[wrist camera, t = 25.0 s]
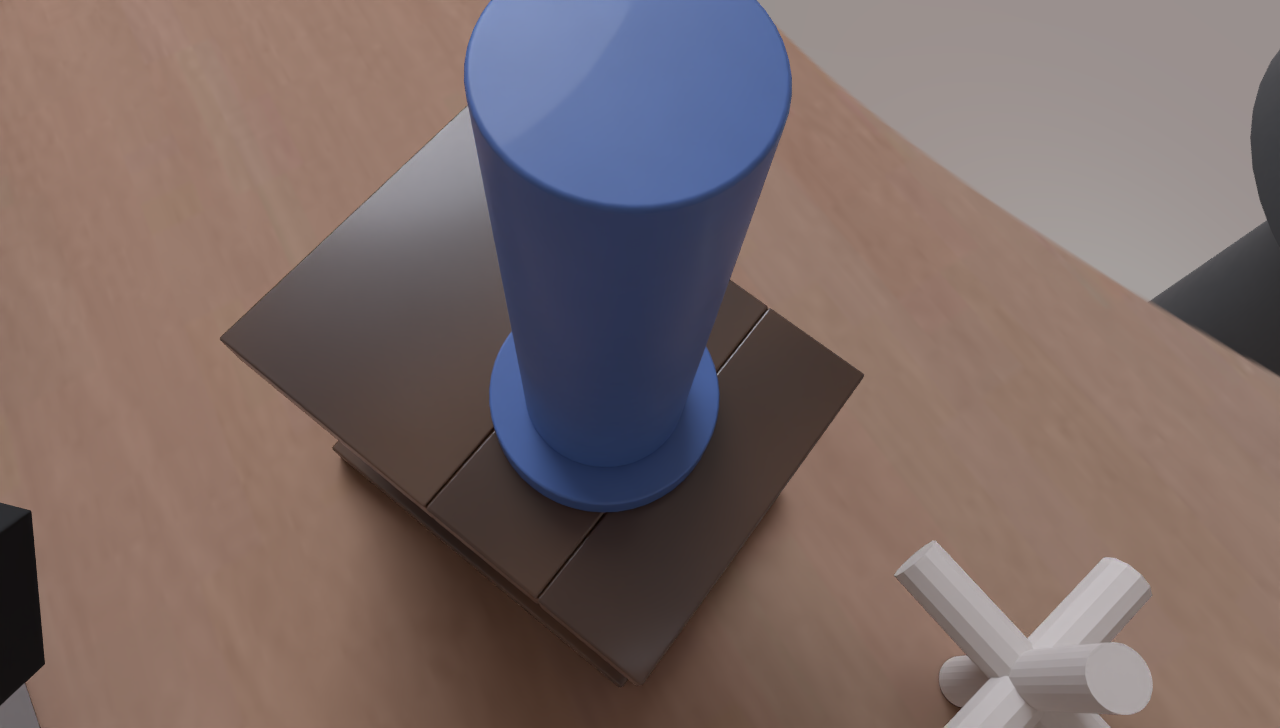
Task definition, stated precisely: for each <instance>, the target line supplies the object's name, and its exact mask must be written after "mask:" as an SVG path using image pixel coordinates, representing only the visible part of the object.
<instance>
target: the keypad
mask: <svg viewBox="0 0 1280 728" xmlns="http://www.w3.org/2000/svg"><path fill="white" fill-rule="evenodd" d="M0 728H40V727H39V724H38V721H37V718H36V715H35V712H34V709H33V706H32V703H31V700H30V697H29V694H28V691H27V688H26V685H25V683H24V684H23V685H22V686H21V687H20V688H19V689H18V690H17V691H16V692H14V693H13V694H12V695H11V696H10V697H9V698H8V699H7V700H6V701H5V702H4V703H3V704H2V705H1V706H0Z"/></svg>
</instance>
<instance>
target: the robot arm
mask: <svg viewBox="0 0 1280 728" xmlns="http://www.w3.org/2000/svg"><path fill="white" fill-rule="evenodd" d="M44 664H45V660H44V649H43V637H42V626H41V615H40V604H39V592H38V581H37V570H36V558H35V547H34V536H33V525H32V513H31V511H30V510H26V509H22V508H19V507H15V506H11V505H7V504H3V503H0V706H1V705H2V704H3V703H4V702H5V701H6V700H7V699H8V698H9V697H10V696H11V695H12V694H13V693H14V692H16V691H17V690H18V689H19V688H20V687H21V686H22V685H23V684H24V683H25V682H26V681H27V680H28V679H29V678H31V677H32V676H33V675H34V674H35V673H36V672H37V671H38V670H39V669H40V668H41V667H42V666H43V665H44Z"/></svg>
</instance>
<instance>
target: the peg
mask: <svg viewBox="0 0 1280 728" xmlns="http://www.w3.org/2000/svg"><path fill="white" fill-rule="evenodd" d="M464 85H465V91H466V98H467V103H468V108H469V114H470V119H471V124H472V129H473V134H474V139H475V144H476V149H477V155H478V160H479V165H480V170H481V175H482V180H483V185H484V190H485V196H486V201H487V206H488V211H489V216H490V221H491V226H492V231H493V237H494V242H495V247H496V252H497V257H498V262H499V267H500V272H501V278H502V283H503V288H504V293H505V298H506V303H507V308H508V313H509V319H510V324H511V329H512V331H511V333H510V334H509V335H508V337H507V338H506V340H505V342H504V343H503V345H502V347H501V348H500V351H499V353H498V355H497V358H496V360H495V363H494V366H493V370H492V374H491V380H490V387H489V405H490V412H491V418H492V422H493V425H494V428H495V432H496V435H497V438H498V441H499V443H500V445H501V448H502V450H503V452H504V454H505V456H506V457H507V459H508V461H509V462H510V464H511V465H512V467H513V468H514V469H515V470H516V472H517V473H518V474H519V475H520V476H521V478H522V479H523V480H525V481H526V482H527V483H528V484H529V485H530V486H531V487H532V488H534V489H535V490H537V491H538V492H539V493H541V494H542V495H544V496H545V497H547V498H549V499H551V500H553V501H555V502H557V503H559V504H562V505H565V506H568V507H571V508H574V509H579V510H584V511H590V512H619V511H624V510H630V509H634V508H637V507H640V506H643V505H646V504H649V503H651V502H653V501H655V500H657V499H659V498H661V497H663V496H664V495H666V494H667V493H669V492H670V491H672V490H673V489H674V488H676V487H677V486H678V485H679V484H680V483H681V482H682V481H684V480H685V478H686V477H687V476H688V475H689V474H690V473H691V472H692V471H693V469H694V468H695V466H696V465H697V463H698V462H699V460H700V459H701V457H702V455H703V453H704V451H705V449H706V447H707V445H708V443H709V441H710V439H711V437H712V435H713V432H714V428H715V425H716V422H717V417H718V411H719V395H720V394H719V384H718V377H717V373H716V369H715V365H714V363H713V360H712V358H711V355H710V353H709V351H708V349H707V347H706V344H707V341H708V339H709V336H710V333H711V330H712V327H713V325H714V322H715V319H716V316H717V313H718V311H719V308H720V305H721V302H722V300H723V297H724V294H725V291H726V288H727V286H728V283H729V280H730V277H731V274H732V272H733V269H734V266H735V263H736V260H737V258H738V255H739V252H740V249H741V246H742V244H743V241H744V238H745V235H746V232H747V230H748V227H749V224H750V221H751V218H752V216H753V213H754V210H755V207H756V204H757V202H758V199H759V196H760V193H761V190H762V188H763V185H764V182H765V179H766V177H767V174H768V171H769V168H770V165H771V163H772V160H773V157H774V154H775V151H776V149H777V146H778V143H779V140H780V137H781V135H782V132H783V129H784V126H785V123H786V120H787V117H788V114H789V109H790V103H791V97H792V77H791V70H790V64H789V59H788V56H787V52H786V49H785V46H784V43H783V40H782V38H781V36H780V34H779V32H778V30H777V28H776V26H775V24H774V23H773V21H772V20H771V18H770V17H769V15H768V14H767V12H766V11H765V10H764V8H763V7H762V6H761V5H760V4H759V3H758V1H757V0H491V1H490V2H489V4H488V5H487V6H486V8H485V9H484V11H483V12H482V14H481V16H480V18H479V19H478V21H477V23H476V25H475V27H474V29H473V32H472V35H471V38H470V40H469V43H468V46H467V51H466V57H465V63H464Z"/></svg>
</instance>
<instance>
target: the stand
mask: <svg viewBox="0 0 1280 728" xmlns="http://www.w3.org/2000/svg"><path fill="white" fill-rule="evenodd" d="M767 308H768V307H767V306H766V305H765V304H764V303H762V302H761V301H759V300H758V299H757V298H755V297H754V296H752V295H751V294H749V293H748V292H747V291H745V290H744V289H742V288H741V287H740V286H738V285H737V284H735V283H734V282H732V281H731V280H729V283H728V286H727V288H726V291H725V294H724V297H723V300H722V302H721V305H720V308H719V311H718V313H717V316H716V319H715V322H714V325H713V327H712V330H711V333H710V336H709V339H708V341H707V344H706V347H707V349H708V351H709V353H710V355H711V358H712V360H713V363H714V365H715V369H716V373H717V377H718V384H719V394H720V395H719V411H718V417H717V422H716V425H715V428H714V432H713V435H712V437H711V439H710V441H709V443H708V445H707V447H706V449H705V451H704V453H703V455H702V457H701V459H700V460H699V462H698V463H697V465H696V466H695V468H694V469H693V471H692V472H691V473H690V474H689V475H688V476H687V477H686V478H685V480H684V481H682V482H681V483H680V484H679V485H678V486H677V487H676V488H674V489H673V490H672V491H670V492H669V493H667V494H666V495H664V496H663V497H661V498H659V499H657V500H655V501H653V502H651V503H649V504H646V505H643V506H640V507H637V508H634V509H630V510H624V511H619V512H590V511H584V510H579V509H574V508H571V507H568V506H565V505H562V504H559V503H557V502H555V501H553V500H551V499H549V498H547V497H545V496H544V495H542V494H541V493H539V492H538V491H537V490H535V489H534V488H532V487H531V486H530V485H529V484H528V483H527V482H526V481H525V480H523V479H522V478H521V476H520V475H519V474H518V473H517V472H516V470H515V469H514V468H513V467H512V465H511V464H510V462H509V461H508V459H507V457H506V456H505V454H504V452H503V450H502V448H501V445H500V443H499V441H498V438H497V435H496V432H495V428H494V425H493V422H492V418H491V412H490V405H489V387H490V380H491V374H492V370H493V366H494V363H495V360H496V358H497V355H498V353H499V351H500V348H501V347H502V345H503V343H504V342H505V340H506V338H507V337H508V335H509V334H510V333H511V331H512V329H511V324H510V319H509V313H508V308H507V303H506V298H505V293H504V288H503V283H502V278H501V272H500V267H499V262H498V257H497V252H496V247H495V242H494V237H493V231H492V226H491V221H490V216H489V211H488V206H487V201H486V196H485V190H484V185H483V180H482V175H481V170H480V165H479V160H478V155H477V149H476V144H475V139H474V134H473V129H472V124H471V119H470V114H469V108H468V105H467V106H466V107H465V108H464V109H463V110H462V111H461V112H460V113H459V114H458V115H456V116H455V117H454V118H453V119H452V120H451V121H450V122H449V123H448V124H447V125H446V126H445V127H444V128H443V129H442V130H441V131H439V132H438V133H437V134H436V135H435V136H434V137H433V138H432V139H431V140H430V141H429V142H428V143H427V144H426V145H425V146H423V147H422V148H421V149H420V150H419V151H418V152H417V153H416V154H415V155H414V156H413V157H412V158H411V159H410V160H409V161H408V162H406V163H405V164H404V165H403V166H402V167H401V168H400V169H399V170H398V171H397V172H396V173H395V174H394V175H393V176H392V177H390V178H389V179H388V180H387V181H386V182H385V183H384V184H383V185H382V186H381V187H380V188H379V189H378V190H377V191H376V192H374V193H373V194H372V195H371V196H370V197H369V198H368V199H367V200H366V201H365V202H364V203H363V204H362V205H361V206H360V207H359V208H357V209H356V210H355V211H354V212H353V213H352V214H351V215H350V216H349V217H348V218H347V219H346V220H345V221H344V222H343V223H341V224H340V225H339V226H338V227H337V228H336V229H335V230H334V231H333V232H332V233H331V234H330V235H329V236H328V237H327V238H326V239H324V240H323V241H322V242H321V243H320V244H319V245H318V246H317V247H316V248H315V249H314V250H313V251H312V252H311V253H310V254H308V255H307V256H306V257H305V258H304V259H303V260H302V261H301V262H300V263H299V264H298V265H297V266H296V267H295V268H294V269H293V270H291V271H290V272H289V273H288V274H287V275H286V276H285V277H284V278H283V279H282V280H281V281H280V282H279V283H278V284H277V285H275V286H274V287H273V288H272V289H271V290H270V291H269V292H268V293H267V294H266V295H265V296H264V297H263V298H262V299H261V300H260V301H258V302H257V303H256V304H255V305H254V306H253V307H252V308H251V309H250V310H249V311H248V312H247V313H246V314H245V315H244V316H242V317H241V318H240V319H239V320H238V321H237V322H236V323H235V324H234V325H233V326H232V327H231V328H230V329H229V330H228V331H227V332H225V333H224V334H223V335H222V336H221V337H220V340H221V341H222V342H223V343H224V344H225V345H226V346H227V347H228V348H229V349H230V350H231V351H232V352H233V353H234V354H235V355H236V356H237V357H238V358H239V359H240V360H241V361H243V362H244V363H245V364H246V365H248V366H249V367H250V368H251V369H252V370H254V371H255V372H256V373H257V374H258V375H260V376H261V377H262V378H263V379H264V380H266V381H267V382H268V383H269V384H271V385H272V386H273V387H274V388H275V389H277V390H278V391H279V392H280V393H281V394H283V395H284V396H285V397H286V398H288V399H289V400H290V401H291V402H292V403H294V404H295V405H296V406H297V407H298V408H300V409H301V410H302V411H303V412H305V413H306V414H307V415H308V416H309V417H311V418H312V419H313V420H314V421H315V422H317V423H318V424H319V425H320V426H321V427H323V428H324V429H325V430H326V431H328V432H329V433H330V434H331V435H332V436H334V437H335V438H336V439H337V440H338V442H337V443H336V444H335V445H334V446H333V447H332V448H333V450H334V451H335V452H336V453H337V454H338V455H339V456H340V457H341V458H343V459H344V460H345V461H346V462H347V463H349V464H350V465H351V466H352V467H354V468H355V469H356V470H357V471H358V472H360V473H361V474H362V475H363V476H364V477H366V478H367V479H368V480H369V481H370V482H372V483H373V484H374V485H375V486H376V487H378V488H379V489H380V490H381V491H382V492H384V493H385V494H386V495H387V496H389V497H390V498H391V499H392V500H393V501H395V502H396V503H397V504H398V505H399V506H401V507H402V508H403V509H404V510H405V511H407V512H408V513H409V514H410V515H411V516H413V517H414V518H415V519H416V520H417V521H419V522H420V523H421V524H422V525H424V526H425V527H426V528H427V529H428V530H430V531H431V532H432V533H433V534H434V535H436V536H437V537H438V538H439V539H440V540H442V541H443V542H444V543H445V544H446V545H448V546H449V547H450V548H451V549H452V550H454V551H455V552H456V553H457V554H459V555H460V556H461V557H462V558H463V559H465V560H466V561H467V562H468V563H469V564H471V565H472V566H473V567H474V568H475V569H477V570H478V571H479V572H480V573H481V574H483V575H484V576H485V577H486V578H488V579H489V580H490V581H491V582H492V583H494V584H495V585H496V586H497V587H498V588H500V589H501V590H502V591H503V592H504V593H506V594H507V595H508V596H509V597H510V598H512V599H513V600H514V601H515V602H516V603H518V604H519V605H520V606H521V607H523V608H524V609H525V610H526V611H527V612H529V613H530V614H531V615H532V616H533V617H535V618H536V619H537V620H538V621H539V622H541V623H542V624H543V625H544V626H545V627H547V628H548V629H549V630H550V631H551V632H553V633H554V634H555V635H556V636H558V637H559V638H560V639H561V640H562V641H564V642H565V643H566V644H567V645H568V646H570V647H571V648H572V649H573V650H574V651H576V652H577V653H578V654H579V655H580V656H582V657H583V658H584V659H585V660H586V661H588V662H589V663H590V664H591V665H593V666H594V667H595V668H596V669H597V670H599V671H600V672H601V673H602V674H603V675H605V676H606V677H607V678H608V679H609V680H611V681H612V682H613V683H614V684H615V685H617V686H618V687H623V686H624V684H625V683H626V682H627V680H630V681H631V682H632V683H633V684H634V685H636V686H640V685H642V684H644V682H645V681H646V679H647V678H648V677H649V675H650V674H651V672H652V671H653V670H654V668H655V667H656V665H657V664H658V663H659V661H660V660H661V659H662V657H663V656H664V654H665V653H666V652H667V650H668V649H669V647H670V646H671V645H672V643H673V642H674V640H675V639H676V638H677V636H678V635H679V633H680V632H681V631H682V629H683V628H684V627H685V625H686V624H687V622H688V621H689V620H690V618H691V617H692V615H693V614H694V613H695V611H696V610H697V608H698V607H699V606H700V604H701V603H702V601H703V600H704V599H705V597H706V596H707V595H708V593H709V592H710V590H711V589H712V588H713V586H714V585H715V583H716V582H717V581H718V579H719V578H720V576H721V575H722V574H723V572H724V571H725V569H726V568H727V567H728V565H729V564H730V563H731V561H732V560H733V558H734V557H735V556H736V554H737V553H738V551H739V550H740V549H741V547H742V546H743V544H744V543H745V542H746V540H747V539H748V537H749V536H750V535H751V533H752V532H753V531H754V529H755V528H756V526H757V525H758V524H759V522H760V521H761V519H762V518H763V517H764V515H765V514H766V512H767V511H768V510H769V508H770V507H771V505H772V504H773V503H774V501H775V500H776V499H777V497H778V496H779V494H780V493H781V492H782V490H783V489H784V487H785V486H786V485H787V483H788V482H789V480H790V479H791V478H792V476H793V475H794V473H795V472H796V471H797V469H798V468H799V467H800V465H801V464H802V462H803V461H804V460H805V458H806V457H807V455H808V454H809V453H810V451H811V450H812V448H813V447H814V446H815V444H816V443H817V441H818V440H819V439H820V437H821V436H822V435H823V433H824V432H825V430H826V429H827V428H828V426H829V425H830V423H831V422H832V421H833V419H834V418H835V416H836V415H837V414H838V412H839V411H840V409H841V408H842V407H843V405H844V404H845V403H846V401H847V400H848V398H849V397H850V396H851V394H852V393H853V391H854V390H855V389H856V387H857V386H858V384H859V383H860V382H861V380H862V379H863V377H864V374H863V373H861V372H860V371H859V370H857V369H856V368H854V367H853V366H852V365H850V364H849V363H847V362H846V361H844V360H843V359H842V358H840V357H839V356H837V355H836V354H835V353H833V352H832V351H830V350H829V349H827V348H826V347H825V346H823V345H822V344H820V343H819V342H818V341H816V340H815V339H813V338H812V337H810V336H809V335H808V334H806V333H805V332H803V331H802V330H801V329H799V328H798V327H796V326H795V325H793V324H792V323H791V322H789V321H788V320H786V319H785V318H784V317H782V316H781V315H779V314H778V313H776V312H775V311H774V310H772V309H771V308H769V309H767Z"/></svg>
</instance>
